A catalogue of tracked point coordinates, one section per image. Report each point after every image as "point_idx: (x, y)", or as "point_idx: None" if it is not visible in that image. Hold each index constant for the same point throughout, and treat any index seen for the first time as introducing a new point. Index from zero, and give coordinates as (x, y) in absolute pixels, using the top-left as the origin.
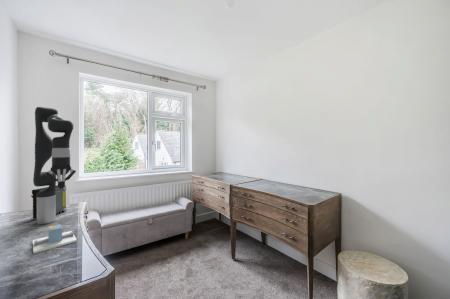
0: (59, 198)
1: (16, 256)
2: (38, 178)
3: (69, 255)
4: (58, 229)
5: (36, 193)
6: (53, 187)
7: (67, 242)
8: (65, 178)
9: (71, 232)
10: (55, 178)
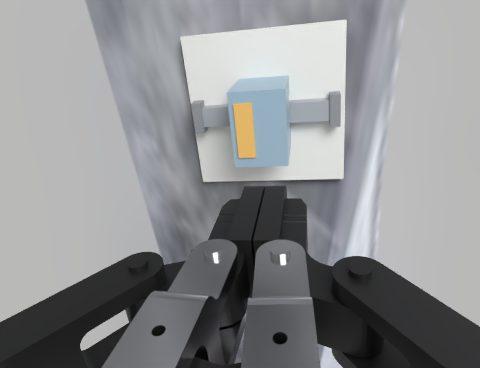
0: None
1: (160, 160)
2: None
3: None
4: (274, 164)
5: None
6: None
7: (308, 179)
8: (317, 341)
9: (335, 103)
10: (145, 298)
